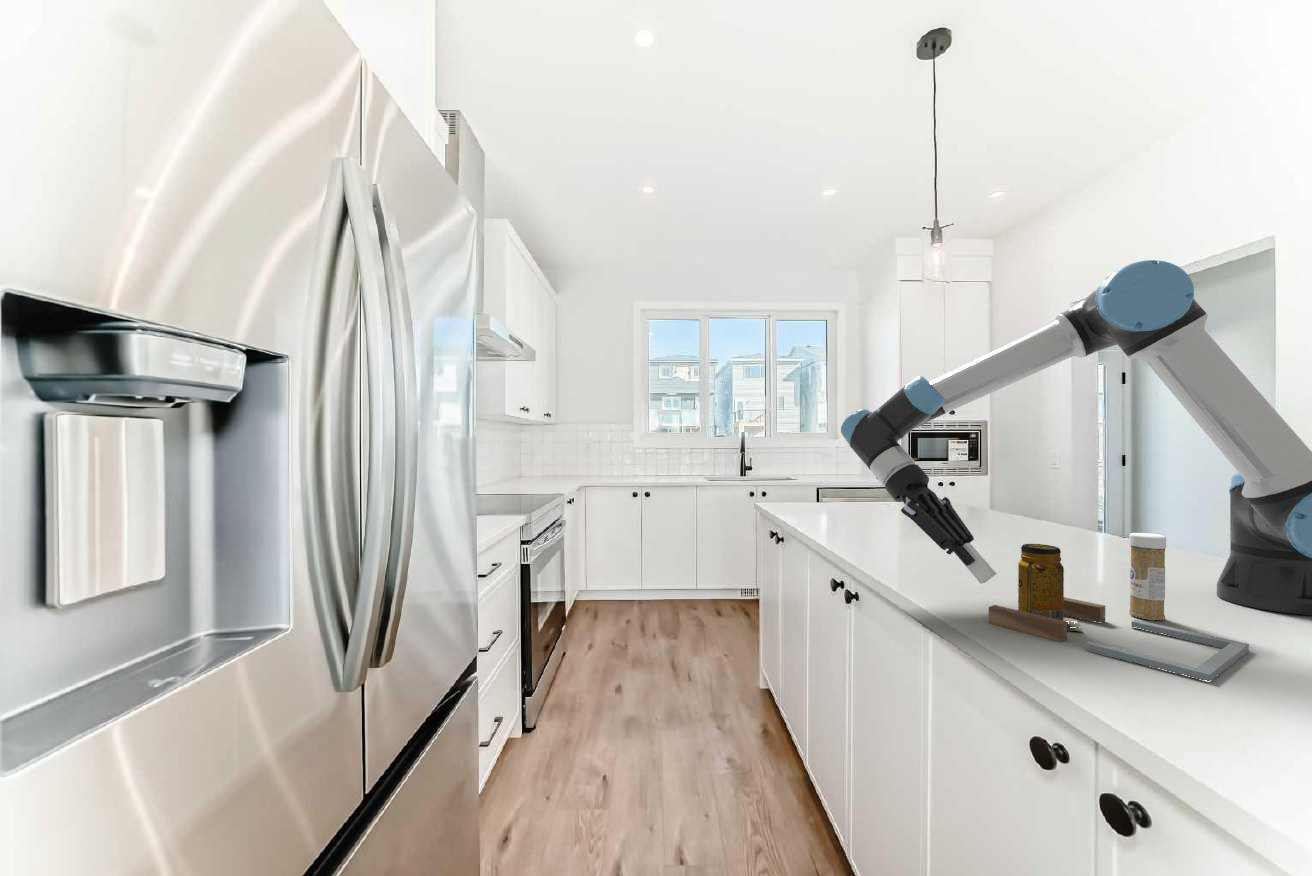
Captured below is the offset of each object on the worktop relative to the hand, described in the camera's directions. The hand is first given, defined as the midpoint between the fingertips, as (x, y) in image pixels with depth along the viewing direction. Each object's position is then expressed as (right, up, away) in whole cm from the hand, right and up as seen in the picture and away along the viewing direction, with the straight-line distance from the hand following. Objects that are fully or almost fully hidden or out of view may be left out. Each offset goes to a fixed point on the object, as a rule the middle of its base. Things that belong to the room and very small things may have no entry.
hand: (988, 578), depth 99 cm
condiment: (+5, -5, -7) cm, 10 cm away
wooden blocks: (+5, -5, -7) cm, 10 cm away
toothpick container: (+23, -5, -5) cm, 24 cm away
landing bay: (+13, -5, -19) cm, 24 cm away
